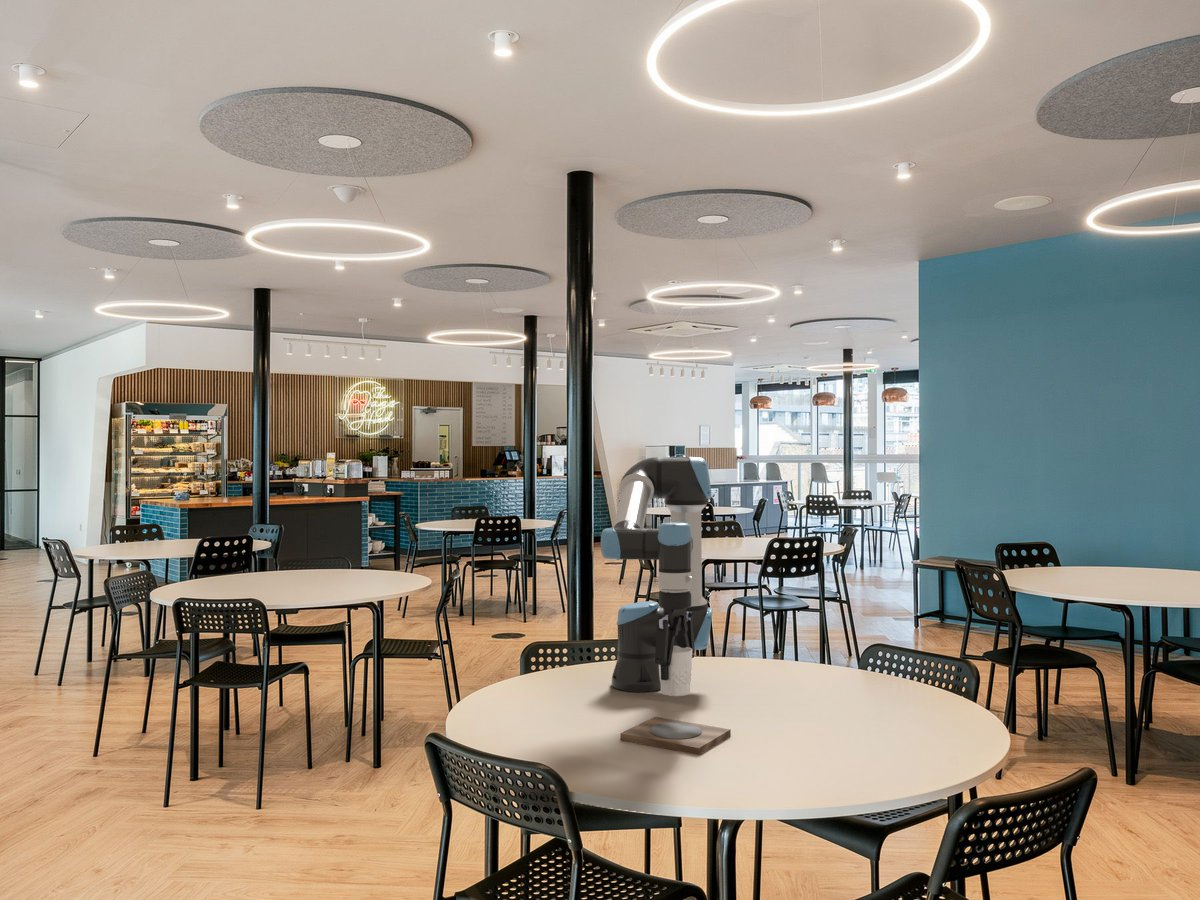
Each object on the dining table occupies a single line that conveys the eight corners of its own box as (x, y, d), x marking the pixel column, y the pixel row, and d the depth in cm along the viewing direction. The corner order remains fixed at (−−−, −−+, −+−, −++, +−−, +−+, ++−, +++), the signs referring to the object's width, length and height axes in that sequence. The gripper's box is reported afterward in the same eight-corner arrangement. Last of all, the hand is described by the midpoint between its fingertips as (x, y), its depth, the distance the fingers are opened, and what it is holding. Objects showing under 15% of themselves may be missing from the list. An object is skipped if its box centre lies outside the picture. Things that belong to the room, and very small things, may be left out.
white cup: (667, 687, 210) (667, 644, 210) (698, 691, 206) (698, 647, 206) (652, 694, 203) (651, 650, 204) (683, 698, 199) (683, 653, 200)
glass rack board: (655, 722, 217) (655, 715, 217) (730, 736, 206) (730, 728, 206) (620, 739, 204) (620, 731, 204) (699, 755, 193) (698, 746, 193)
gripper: (667, 596, 195) (668, 702, 194) (709, 586, 212) (710, 683, 211) (638, 594, 199) (638, 697, 198) (681, 584, 216) (682, 679, 215)
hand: (675, 689), depth 205 cm, fingers closed on white cup, 8 cm apart
